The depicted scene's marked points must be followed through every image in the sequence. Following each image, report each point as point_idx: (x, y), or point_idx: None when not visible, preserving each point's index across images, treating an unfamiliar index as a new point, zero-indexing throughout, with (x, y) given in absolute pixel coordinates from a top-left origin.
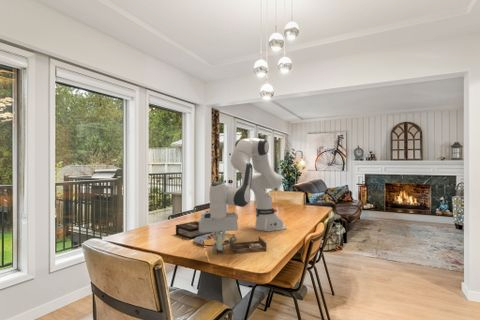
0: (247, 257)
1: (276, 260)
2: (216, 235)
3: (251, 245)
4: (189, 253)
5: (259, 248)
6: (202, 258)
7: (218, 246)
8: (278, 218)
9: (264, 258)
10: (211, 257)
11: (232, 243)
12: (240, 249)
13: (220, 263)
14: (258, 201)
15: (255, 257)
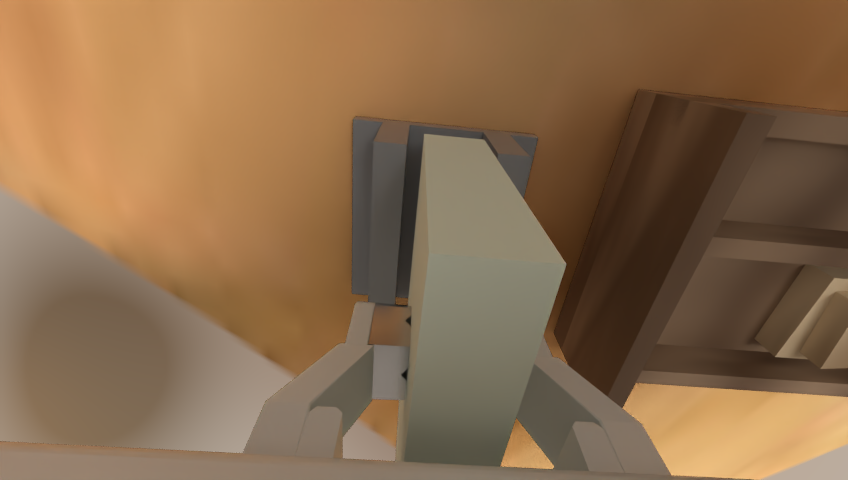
0: (635, 387)
1: (766, 473)
2: (411, 346)
3: (838, 339)
4: (52, 90)
5: (838, 391)
6: (247, 300)
7: (398, 417)
8: None
9: (731, 432)
10: (337, 303)
11: (631, 339)
12: (643, 382)
13: (390, 424)
14: None
15: (690, 403)
